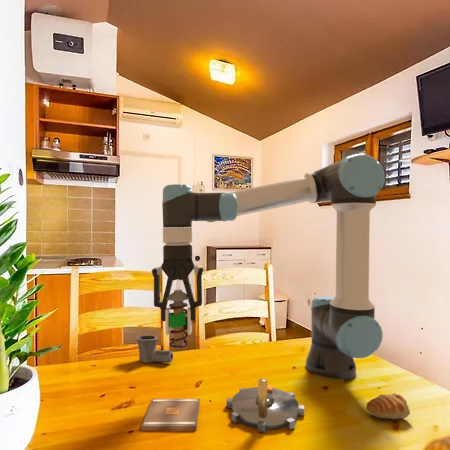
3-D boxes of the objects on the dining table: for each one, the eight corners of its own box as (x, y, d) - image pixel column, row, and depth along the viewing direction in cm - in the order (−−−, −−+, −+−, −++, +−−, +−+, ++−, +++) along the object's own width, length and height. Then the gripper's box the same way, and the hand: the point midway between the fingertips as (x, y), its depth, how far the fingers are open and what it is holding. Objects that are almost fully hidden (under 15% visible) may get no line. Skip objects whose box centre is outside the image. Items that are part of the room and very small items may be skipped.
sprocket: (233, 389, 95) (233, 352, 95) (303, 395, 91) (303, 357, 91) (219, 428, 77) (219, 382, 77) (305, 438, 73) (305, 390, 73)
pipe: (168, 367, 109) (168, 342, 109) (131, 363, 113) (131, 338, 113) (175, 360, 115) (175, 336, 115) (141, 356, 119) (141, 333, 119)
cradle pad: (199, 402, 88) (199, 398, 88) (196, 430, 76) (196, 425, 76) (152, 402, 88) (152, 398, 88) (141, 430, 76) (141, 425, 76)
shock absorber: (196, 346, 92) (195, 289, 92) (180, 353, 86) (179, 293, 86) (177, 341, 95) (176, 287, 95) (161, 349, 90) (160, 291, 90)
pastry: (377, 423, 78) (378, 407, 78) (359, 407, 85) (359, 391, 85) (412, 417, 80) (413, 401, 80) (392, 402, 87) (392, 387, 87)
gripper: (212, 242, 95) (213, 328, 95) (146, 243, 94) (147, 329, 94) (211, 244, 87) (213, 337, 87) (139, 245, 87) (140, 338, 87)
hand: (178, 332), depth 91 cm, fingers closed on shock absorber, 5 cm apart
